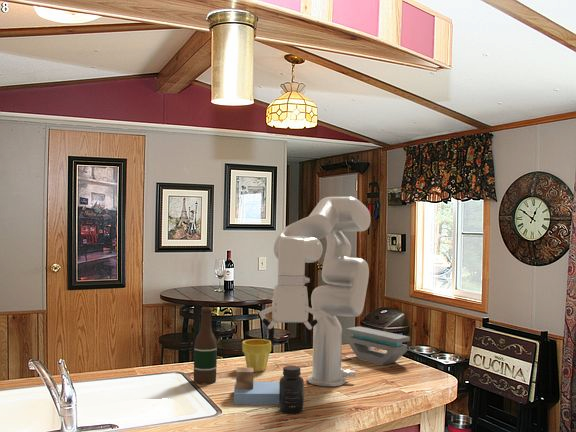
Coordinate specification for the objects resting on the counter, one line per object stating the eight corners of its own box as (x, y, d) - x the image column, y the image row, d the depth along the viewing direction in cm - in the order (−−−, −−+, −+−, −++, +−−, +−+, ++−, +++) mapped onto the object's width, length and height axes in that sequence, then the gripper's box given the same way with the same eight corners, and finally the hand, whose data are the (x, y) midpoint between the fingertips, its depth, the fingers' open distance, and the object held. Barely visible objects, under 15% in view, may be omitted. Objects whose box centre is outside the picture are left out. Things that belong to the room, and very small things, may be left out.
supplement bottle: (277, 406, 158) (278, 364, 158) (301, 406, 158) (302, 364, 159) (279, 415, 151) (280, 370, 151) (304, 415, 152) (305, 370, 152)
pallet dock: (286, 391, 172) (286, 381, 172) (289, 404, 160) (289, 393, 160) (234, 391, 171) (235, 381, 171) (233, 404, 159) (234, 393, 159)
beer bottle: (212, 385, 177) (214, 309, 177) (188, 383, 178) (190, 308, 179) (219, 378, 184) (221, 306, 185) (197, 377, 186) (199, 305, 186)
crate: (252, 384, 169) (253, 367, 169) (253, 389, 164) (253, 372, 164) (236, 384, 169) (236, 367, 169) (236, 388, 164) (236, 371, 164)
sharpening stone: (409, 366, 207) (409, 336, 208) (396, 369, 202) (396, 339, 202) (358, 353, 226) (359, 326, 226) (345, 355, 221) (346, 328, 221)
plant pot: (235, 369, 196) (236, 342, 196) (253, 364, 205) (254, 337, 205) (259, 374, 190) (260, 346, 190) (276, 368, 199) (277, 341, 199)
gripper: (320, 280, 160) (318, 340, 160) (260, 279, 159) (258, 339, 159) (323, 283, 152) (321, 346, 152) (260, 282, 152) (258, 345, 151)
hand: (289, 342), depth 155 cm, fingers open, 9 cm apart
